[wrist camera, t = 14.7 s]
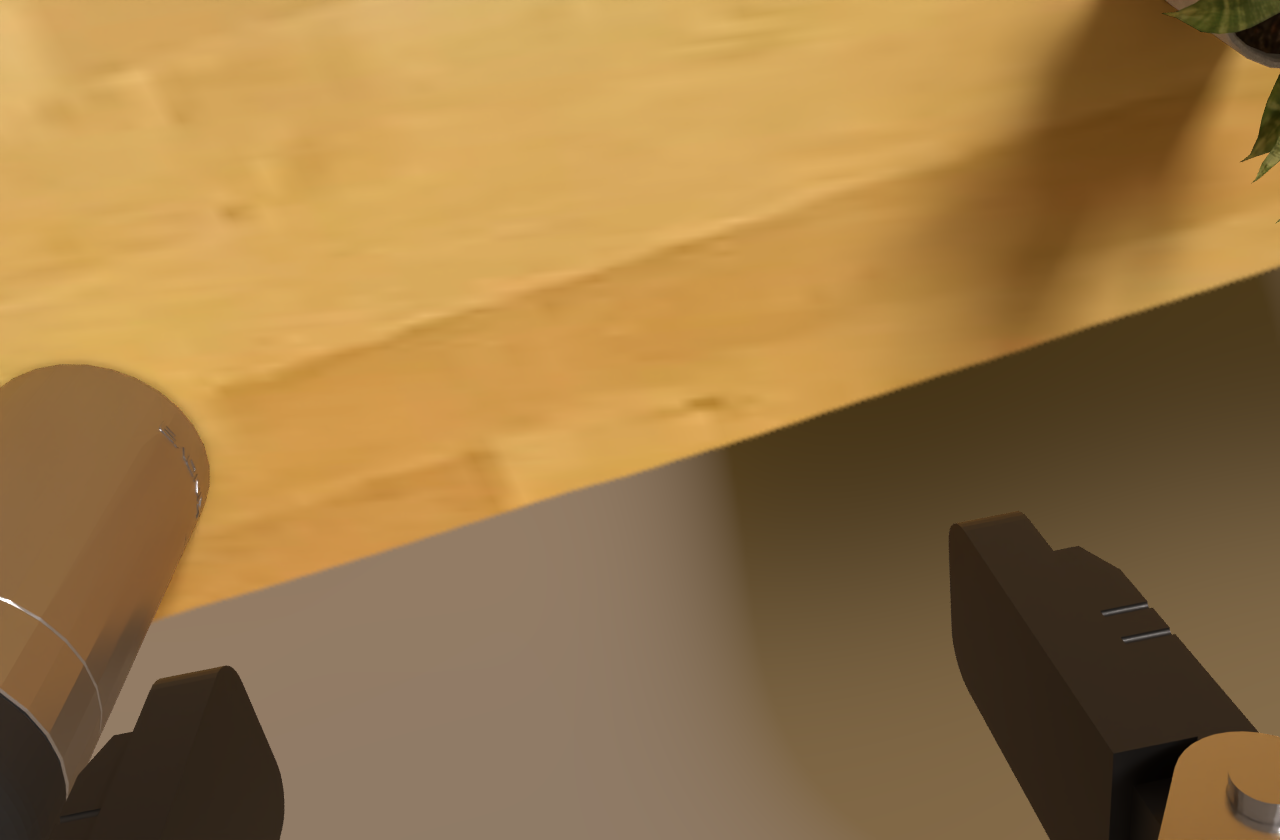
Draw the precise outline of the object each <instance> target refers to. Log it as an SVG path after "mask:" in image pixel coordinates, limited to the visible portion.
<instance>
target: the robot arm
mask: <svg viewBox="0 0 1280 840" xmlns="http://www.w3.org/2000/svg"><path fill="white" fill-rule="evenodd" d="M208 490H209V463H208V459H207V455H206V451H205V447H204V445H203V443H202V441H201V439H200V437H199V435H198V433H197V431H196V429H195V428H194V426H193V425H192V423H191V422H190V421H189V420H188V419H187V417H186V416H185V415H184V414H183V412H182V411H181V410H180V409H179V408H178V407H177V406H176V405H175V404H174V403H172V402H171V401H170V400H169V399H168V398H166V397H165V396H164V395H163V394H162V393H160V392H159V391H157V390H156V389H154V388H152V387H150V386H149V385H147V384H145V383H143V382H142V381H140V380H138V379H136V378H133V377H131V376H128V375H125V374H122V373H120V372H117V371H114V370H111V369H106V368H100V367H95V366H89V365H55V366H50V367H45V368H39V369H35V370H32V371H30V372H27V373H25V374H22V375H20V376H18V377H15V378H13V379H12V380H10V381H9V382H8V383H6V384H5V385H3V386H2V387H1V388H0V840H280V835H281V831H282V826H283V820H284V792H283V785H282V779H281V774H280V771H279V768H278V765H277V762H276V760H275V758H274V755H273V753H272V751H271V748H270V746H269V744H268V741H267V739H266V737H265V734H264V732H263V730H262V727H261V725H260V723H259V721H258V718H257V716H256V713H255V711H254V709H253V706H252V704H251V702H250V699H249V697H248V695H247V693H246V690H245V688H244V686H243V683H242V681H241V679H240V677H239V675H238V674H237V672H236V671H235V670H234V669H233V668H232V667H230V666H222V667H217V668H212V669H207V670H202V671H197V672H192V673H186V674H182V675H176V676H171V677H166V678H162V679H159V680H157V681H156V682H155V683H154V684H153V686H152V688H151V690H150V692H149V694H148V697H147V699H146V701H145V704H144V706H143V709H142V711H141V714H140V716H139V718H138V721H137V723H136V725H135V728H134V730H133V732H129V733H124V734H119V735H114V736H113V737H112V738H111V739H110V740H109V741H108V742H107V743H106V745H105V746H104V747H103V748H102V749H101V750H100V751H99V752H98V753H97V755H96V756H95V757H94V758H93V759H92V760H91V761H90V758H91V756H92V753H93V751H94V749H95V746H96V744H97V742H98V740H99V738H100V735H101V733H102V731H103V729H104V727H105V724H106V722H107V720H108V718H109V715H110V713H111V711H112V709H113V706H114V704H115V702H116V700H117V698H118V695H119V693H120V691H121V689H122V687H123V684H124V682H125V680H126V678H127V675H128V673H129V671H130V669H131V667H132V664H133V662H134V660H135V658H136V656H137V653H138V651H139V649H140V647H141V644H142V642H143V640H144V638H145V636H146V633H147V631H148V629H149V626H150V624H151V622H152V620H153V618H154V616H155V613H156V611H157V609H158V607H159V604H160V602H161V600H162V598H163V596H164V593H165V591H166V589H167V587H168V584H169V582H170V580H171V578H172V576H173V573H174V571H175V569H176V567H177V564H178V562H179V560H180V558H181V556H182V554H183V551H184V549H185V547H186V545H187V543H188V540H189V538H190V536H191V534H192V531H193V529H194V527H195V525H196V522H197V520H198V518H199V516H200V513H201V511H202V509H203V507H204V505H205V501H206V497H207V493H208ZM949 564H950V565H949V566H950V593H951V621H952V638H953V645H954V650H955V654H956V658H957V662H958V666H959V669H960V672H961V675H962V678H963V680H964V682H965V685H966V687H967V689H968V691H969V693H970V695H971V696H972V698H973V700H974V702H975V704H976V705H977V707H978V709H979V711H980V713H981V714H982V716H983V718H984V720H985V722H986V724H987V726H988V727H989V729H990V731H991V733H992V735H993V736H994V738H995V740H996V742H997V744H998V746H999V747H1000V749H1001V751H1002V753H1003V755H1004V756H1005V758H1006V760H1007V762H1008V764H1009V765H1010V767H1011V769H1012V771H1013V773H1014V775H1015V777H1016V778H1017V780H1018V782H1019V784H1020V786H1021V787H1022V789H1023V791H1024V793H1025V795H1026V797H1027V798H1028V800H1029V802H1030V804H1031V806H1032V807H1033V809H1034V811H1035V813H1036V815H1037V817H1038V818H1039V820H1040V822H1041V824H1042V826H1043V828H1044V829H1045V831H1046V833H1047V835H1048V837H1049V838H1050V840H1280V737H1277V736H1274V735H1269V734H1263V733H1259V732H1258V731H1257V730H1256V729H1255V727H1254V726H1253V725H1252V724H1251V723H1250V722H1249V721H1248V719H1247V718H1246V717H1245V716H1244V715H1243V713H1242V712H1241V711H1240V710H1239V709H1238V708H1237V706H1236V705H1235V704H1234V703H1233V702H1232V700H1231V699H1230V698H1229V697H1228V696H1227V695H1226V694H1225V692H1224V691H1223V690H1222V689H1221V688H1220V686H1219V685H1218V684H1217V683H1216V682H1215V681H1214V679H1213V678H1212V677H1211V676H1210V675H1209V673H1208V672H1207V671H1206V670H1205V669H1204V668H1203V666H1202V665H1201V664H1200V663H1199V662H1198V660H1197V659H1196V658H1195V657H1194V656H1193V655H1192V653H1191V652H1190V651H1189V650H1188V649H1187V648H1186V646H1185V645H1184V644H1183V643H1182V642H1181V640H1180V639H1179V638H1178V637H1177V636H1176V635H1175V634H1173V635H1172V634H1171V633H1170V629H1169V626H1168V625H1167V624H1166V623H1165V622H1164V620H1163V619H1162V618H1161V617H1160V616H1159V615H1158V613H1157V612H1156V611H1155V610H1154V609H1153V608H1149V607H1148V604H1147V600H1146V599H1145V598H1144V597H1143V596H1142V595H1141V593H1140V592H1139V591H1138V590H1137V589H1136V588H1135V586H1134V585H1133V584H1132V583H1131V582H1130V581H1129V579H1128V578H1127V577H1126V576H1125V575H1124V573H1123V572H1122V571H1121V570H1120V569H1118V568H1116V567H1115V566H1113V565H1111V564H1109V563H1108V562H1106V561H1104V560H1102V559H1101V558H1099V557H1097V556H1095V555H1093V554H1091V553H1090V552H1088V551H1086V550H1085V549H1083V548H1081V547H1079V546H1076V547H1071V548H1066V549H1061V550H1056V551H1053V550H1052V548H1051V547H1050V546H1049V545H1048V543H1047V542H1046V541H1045V539H1044V538H1043V537H1042V536H1041V534H1040V533H1039V532H1038V530H1037V529H1036V528H1035V527H1034V525H1033V524H1032V523H1031V521H1030V520H1029V519H1028V518H1027V517H1026V516H1025V514H1023V513H1022V512H1019V511H1016V512H1011V513H1006V514H1001V515H995V516H991V517H986V518H980V519H975V520H971V521H965V522H961V523H955V524H953V525H952V526H951V528H950V532H949ZM89 761H90V762H89Z"/></svg>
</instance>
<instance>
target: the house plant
mask: <svg viewBox="0 0 1280 840" xmlns="http://www.w3.org/2000/svg"><path fill="white" fill-rule="evenodd" d="M1166 1H1167V2H1168V3H1169V4H1170V5H1172V6H1173V7H1175V8H1176V9H1177V10H1179V11H1177V12H1171V13H1162V14H1165V15H1169V16H1172V17H1175V18H1177V19H1179V20H1181V21H1183V22H1185V23H1186V24H1188V25H1190V26H1192V27H1193V28H1195V29H1197V30H1199V31H1200V32H1207V33H1212V34H1213V35H1215V36H1216V37H1217V38H1219V39H1220V40H1222V41H1223V42H1225V43H1226V44H1227V45H1229V46H1230V47H1232V48H1233V49H1235V50H1236V51H1237V52H1239V53H1240V54H1242V55H1243V56H1245V57H1246V58H1247V59H1250V60H1252V61H1255V62H1257V63H1260V64H1262V65H1265V66H1267V67H1270V68H1280V0H1166ZM1269 152H1270V153H1269ZM1265 153H1269V155H1268V156H1267V157H1266V159H1265V160H1264V161H1263V163H1262V165H1261V167H1260V170H1259V172H1258V175H1257V177H1256V179H1255V180H1254V181H1253V182H1255V181H1256V180H1258V179H1259V178H1260V177H1262V176H1263V175H1264V174H1265V173H1266V172H1267V171H1268V170H1269V169H1271V168H1272V167H1273V166H1274V165H1275V164H1277V163H1278V162H1279V161H1280V74H1279V77H1278V79H1277V81H1276V83H1275V85H1274V87H1273V90H1272V92H1271V94H1270V96H1269V98H1268V101H1267V103H1266V107H1265V110H1264V113H1263V116H1262V120H1261V125H1260V130H1259V135H1258V138H1257V140H1256V143H1255V145H1254V147H1253V149H1252V151H1251V154H1250V155H1249V156H1248V157H1246V158H1245V159H1244V160H1242V161H1241V162H1243V161H1245V160H1248V159H1251V158H1253V157H1256V156H1259V155H1262V154H1265ZM1253 182H1252V183H1253ZM1279 221H1280V219H1279V220H1278V221H1277V222H1279ZM1277 222H1276V223H1277ZM1276 223H1275V224H1276Z"/></svg>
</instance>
